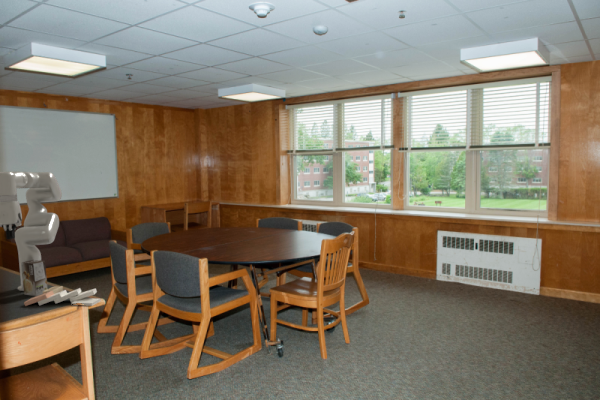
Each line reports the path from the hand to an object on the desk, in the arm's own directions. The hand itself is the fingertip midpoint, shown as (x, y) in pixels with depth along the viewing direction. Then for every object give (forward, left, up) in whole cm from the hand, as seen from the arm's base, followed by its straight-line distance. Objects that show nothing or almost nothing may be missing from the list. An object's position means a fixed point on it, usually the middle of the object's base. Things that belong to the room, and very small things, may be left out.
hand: (10, 238), depth 190 cm
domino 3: (+15, +18, -28) cm, 36 cm away
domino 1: (+10, +6, -28) cm, 31 cm away
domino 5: (+20, +26, -29) cm, 43 cm away
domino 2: (+12, +12, -28) cm, 33 cm away
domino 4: (+17, +24, -28) cm, 40 cm away
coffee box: (-7, +7, -29) cm, 31 cm away
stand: (+4, +15, -29) cm, 33 cm away
